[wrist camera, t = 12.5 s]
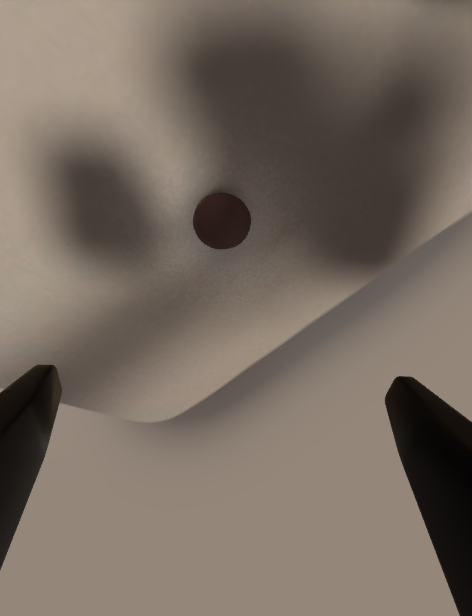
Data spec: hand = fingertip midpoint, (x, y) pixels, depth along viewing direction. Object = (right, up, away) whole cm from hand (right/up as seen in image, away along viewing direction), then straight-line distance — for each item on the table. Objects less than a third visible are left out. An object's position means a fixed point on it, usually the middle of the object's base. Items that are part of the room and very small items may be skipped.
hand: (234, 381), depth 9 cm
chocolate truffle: (-1, +7, +10) cm, 12 cm away
